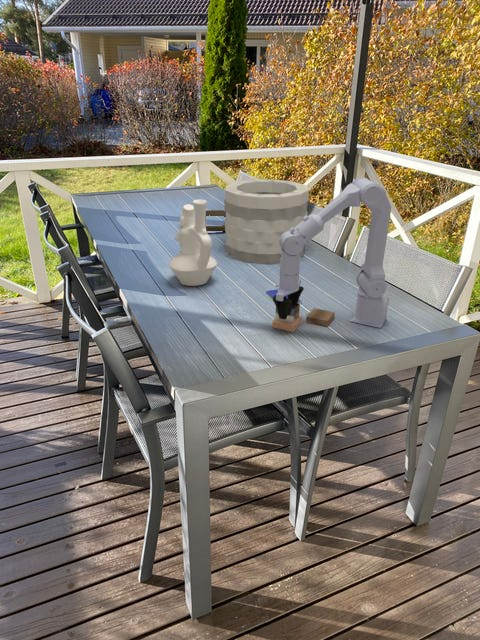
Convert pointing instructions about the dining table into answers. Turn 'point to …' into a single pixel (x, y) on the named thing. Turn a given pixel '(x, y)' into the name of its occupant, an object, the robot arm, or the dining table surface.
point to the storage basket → (262, 218)
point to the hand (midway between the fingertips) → (287, 313)
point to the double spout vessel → (193, 246)
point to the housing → (290, 313)
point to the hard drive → (273, 292)
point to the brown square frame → (215, 213)
